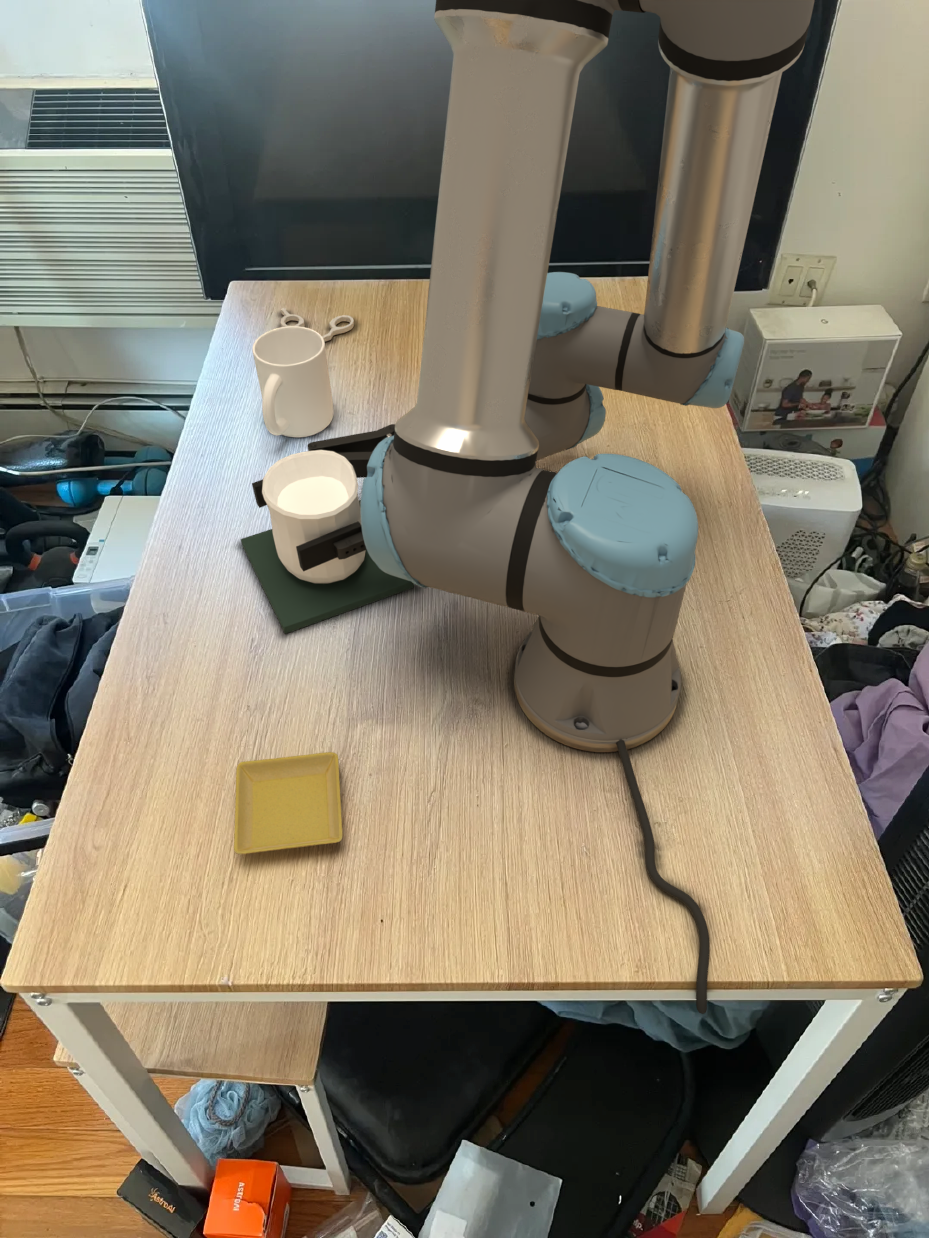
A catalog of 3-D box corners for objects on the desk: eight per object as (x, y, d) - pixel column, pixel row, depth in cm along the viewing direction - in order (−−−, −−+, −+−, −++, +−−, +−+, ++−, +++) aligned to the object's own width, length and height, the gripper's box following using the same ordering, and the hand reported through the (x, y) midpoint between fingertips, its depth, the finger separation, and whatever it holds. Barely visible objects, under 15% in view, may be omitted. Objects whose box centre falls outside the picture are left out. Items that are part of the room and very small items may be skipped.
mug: (305, 464, 107) (292, 390, 99) (241, 451, 109) (224, 376, 101) (344, 405, 114) (335, 332, 107) (284, 394, 116) (271, 321, 108)
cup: (325, 507, 99) (313, 435, 92) (391, 550, 95) (384, 478, 87) (257, 554, 94) (239, 482, 87) (323, 602, 90) (309, 530, 83)
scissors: (356, 309, 128) (334, 392, 115) (356, 314, 128) (335, 397, 115) (281, 307, 128) (251, 390, 115) (282, 312, 129) (252, 395, 116)
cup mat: (414, 587, 94) (414, 581, 93) (284, 634, 90) (283, 627, 89) (362, 506, 102) (361, 499, 101) (242, 545, 98) (240, 538, 97)
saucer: (340, 763, 80) (338, 749, 78) (345, 853, 74) (342, 840, 73) (240, 774, 79) (236, 761, 78) (238, 866, 73) (233, 854, 72)
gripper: (529, 537, 93) (332, 626, 85) (420, 422, 105) (240, 490, 98) (533, 481, 87) (322, 570, 79) (417, 366, 99) (225, 434, 92)
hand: (276, 526), depth 89 cm, fingers closed on cup, 10 cm apart
